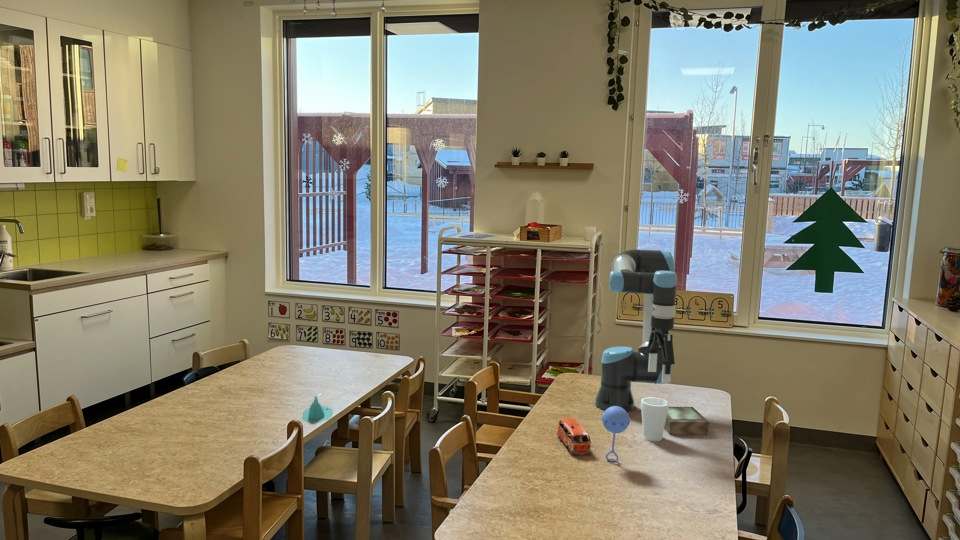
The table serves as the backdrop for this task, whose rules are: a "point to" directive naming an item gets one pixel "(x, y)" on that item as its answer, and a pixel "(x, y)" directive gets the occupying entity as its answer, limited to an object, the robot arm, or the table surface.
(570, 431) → the toy bus
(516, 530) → the table surface
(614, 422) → the baby rattle
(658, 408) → the foam cup
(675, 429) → the walnut plinth
